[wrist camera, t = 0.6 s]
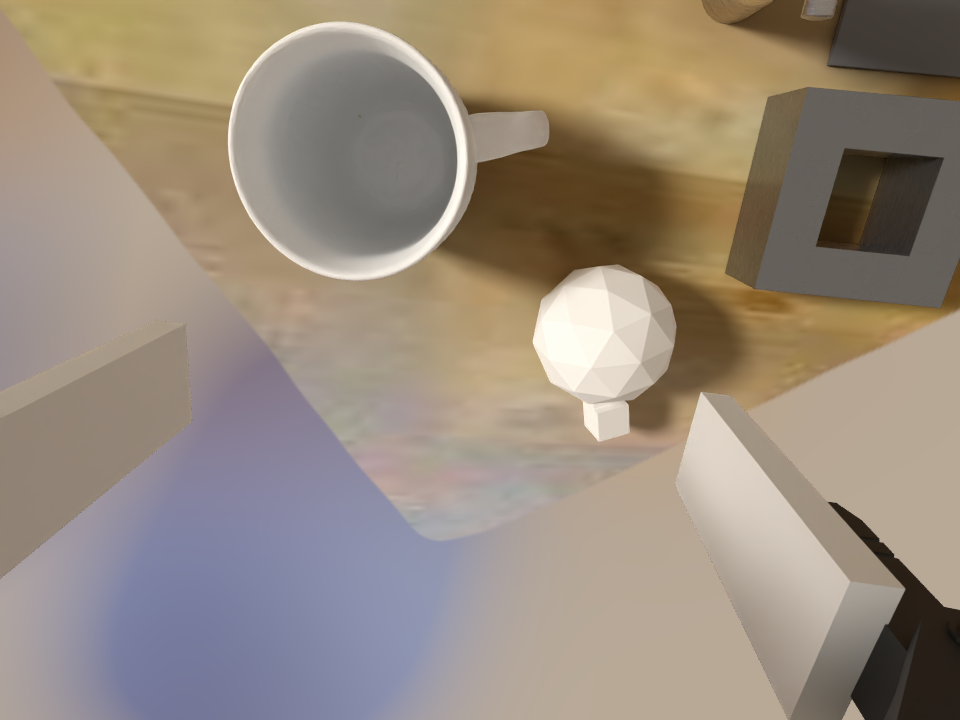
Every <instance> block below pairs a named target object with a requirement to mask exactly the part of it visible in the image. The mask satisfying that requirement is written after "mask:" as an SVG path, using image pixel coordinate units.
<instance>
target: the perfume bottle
mask: <svg viewBox="0 0 960 720" xmlns="http://www.w3.org/2000/svg"><path fill="white" fill-rule="evenodd" d="M676 328H677V326H676V322H675V318H674V314H673V310H672V306H671V304H670V302H669V301H668V300H667V298H666V297H665V295H664V294H663V292H662V291H661V290H660V288H659V287H658V286H657V285H656V284H654V283H652V282H651V281H649V280H647V279H646V278H644V277H642V276H640V275H638V274H636V273H634V272H632V271H630V270H628V269H627V268H625V267H623V266H621V265H608V266H598V267H591V268H585V269H578V270H574V271H573V272H571V273H570V274H569V275H568V276H567V277H566V278H565V279H564V280H563V281H562V282H560V283H559V284H558V285H557V286H556V287H555V288H554V289H553V290H552V291H551V292H550V293H548V294H547V295H546V296H545V297H544V298H543V299H542V300H541V304H540V309H539V314H538V319H537V323H536V328H535V333H534V338H533V345H534V347H535V349H536V351H537V354H538V356H539V358H540V360H541V362H542V365H543V367H544V369H545V371H546V374H547V376H548V378H549V380H550V382H551V383H553V384H554V385H556V386H558V387H560V388H561V389H563V390H565V391H566V392H568V393H570V394H572V395H573V396H575V397H577V398H579V399H580V400H582V401H583V408H584V422H585V426H586V427H587V428H588V430H589V431H590V432H591V433H592V434H593V435H594V437H595V438H596V439H597V440H598V441H599V442H601V441H604V440H607V439H611V438H614V437H618V436H621V435H624V434H628V433H629V405H628V404H627V403H626V402H625V401H627V400H634V399H635V398H637V397H638V396H639V395H640V394H642V393H643V392H644V391H646V390H647V389H648V388H649V387H651V386H652V385H653V384H654V383H655V382H656V381H657V380H658V379H659V378H660V377H661V376H662V375H663V374H664V373H665V372H666V371H667V369H668V366H669V362H670V359H671V355H672V352H673V348H674V343H675V336H676Z"/></svg>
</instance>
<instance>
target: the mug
mask: <svg viewBox="0 0 960 720" xmlns="http://www.w3.org/2000/svg"><path fill="white" fill-rule="evenodd" d="M548 140H549V122H548V118H547V116H546V114H545V113H544V112H543V111H542V110H535V111H522V112H487V113H475V114H471V115H468V111H467V109H466V107H465V106H464V104H463V101H462V99H461V98H460V96H459V95H458V93H457V91H456V89H455V88H454V87H453V86H452V84H451V83H450V81H449V80H448V79H447V77H446V76H445V75H444V74H443V73H442V72H441V71H440V69H439V68H438V67H437V66H436V65H434V64H433V63H432V62H431V60H429V59H428V58H426V57H425V56H424V55H423V54H422V53H421V52H420V51H418V50H417V49H416V48H414V47H413V46H412V45H410V44H409V43H407V42H406V41H404V40H403V39H401V38H399V37H397V36H396V35H394V34H391V33H389V32H387V31H384V30H382V29H379V28H376V27H373V26H369V25H365V24H360V23H353V22H327V23H321V24H316V25H312V26H308V27H305V28H303V29H300V30H297V31H295V32H293V33H291V34H289V35H287V36H286V37H284V38H282V39H281V40H279V41H278V42H276V43H275V44H273V45H272V46H271V47H270V48H269V49H267V50H266V51H265V52H264V53H263V54H262V55H261V56H260V57H259V58H258V59H257V60H256V61H255V63H254V64H253V66H252V67H251V68H250V70H249V71H248V72H247V74H246V76H245V77H244V79H243V81H242V83H241V85H240V87H239V89H238V92H237V94H236V97H235V99H234V103H233V107H232V111H231V115H230V121H229V131H228V149H229V159H230V166H231V171H232V175H233V179H234V182H235V185H236V188H237V191H238V194H239V196H240V199H241V201H242V203H243V205H244V207H245V209H246V211H247V212H248V214H249V216H250V218H251V219H252V220H253V222H254V223H255V225H256V226H257V228H258V229H259V230H260V231H261V233H262V234H263V235H264V236H265V238H266V239H267V240H268V241H269V242H270V243H271V244H272V245H273V246H274V247H275V248H277V249H278V250H279V251H280V252H281V253H283V254H284V255H285V256H286V257H288V258H289V259H291V260H292V261H294V262H295V263H297V264H299V265H300V266H302V267H304V268H306V269H308V270H310V271H313V272H315V273H318V274H321V275H324V276H327V277H331V278H336V279H343V280H352V281H365V280H375V279H380V278H385V277H388V276H392V275H395V274H397V273H400V272H402V271H404V270H406V269H408V268H410V267H412V266H413V265H415V264H416V263H418V262H420V261H421V260H422V259H424V258H425V257H426V256H427V255H428V254H430V253H431V252H432V251H433V250H435V249H437V248H438V246H439V245H440V244H441V243H442V242H443V241H444V240H446V239H447V237H448V235H450V234H451V233H452V231H453V230H454V229H455V227H456V225H457V224H458V223H459V221H460V220H461V219H462V216H463V214H464V213H465V211H466V209H467V206H468V204H469V202H470V199H471V195H472V193H473V191H474V185H475V182H476V175H477V164H478V162H484V161H489V160H493V159H497V158H501V157H505V156H508V155H511V154H514V153H518V152H521V151H526V150H531V149H535V148H539V147H543V146H545V145H546V144H547V143H548Z"/></svg>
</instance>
